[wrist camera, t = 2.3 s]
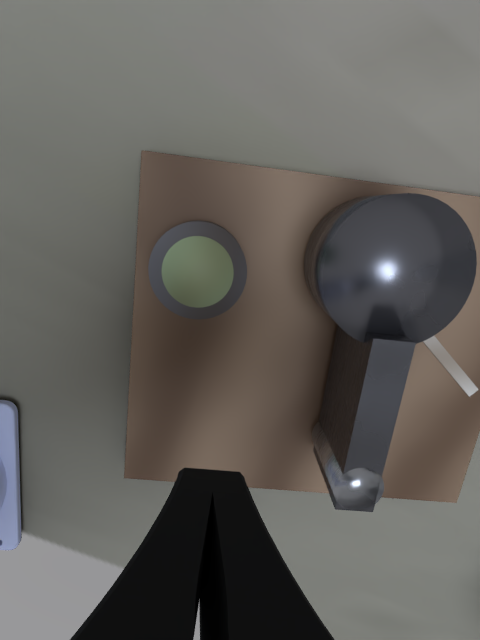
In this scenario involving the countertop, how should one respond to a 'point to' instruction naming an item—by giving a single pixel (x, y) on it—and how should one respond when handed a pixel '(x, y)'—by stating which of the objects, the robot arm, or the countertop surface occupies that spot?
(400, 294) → the knob
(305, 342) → the tribrach board
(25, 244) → the countertop surface
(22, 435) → the countertop surface
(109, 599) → the robot arm
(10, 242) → the countertop surface
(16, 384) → the countertop surface
